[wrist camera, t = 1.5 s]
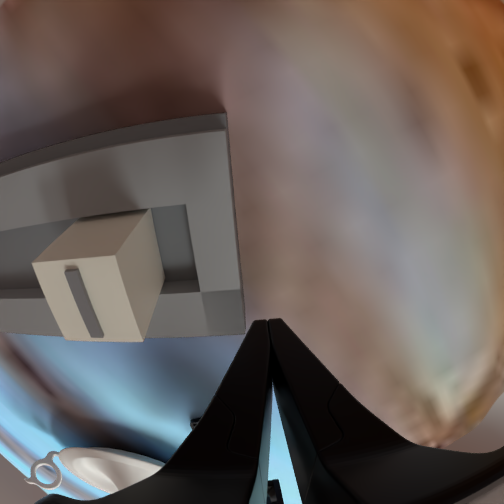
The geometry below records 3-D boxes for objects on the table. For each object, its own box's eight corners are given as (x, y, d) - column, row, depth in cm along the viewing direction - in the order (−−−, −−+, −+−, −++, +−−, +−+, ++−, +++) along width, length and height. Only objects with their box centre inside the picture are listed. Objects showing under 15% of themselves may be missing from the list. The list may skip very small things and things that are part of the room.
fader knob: (165, 278, 16) (142, 345, 12) (100, 281, 16) (64, 342, 12) (150, 207, 14) (113, 258, 10) (81, 216, 14) (29, 265, 10)
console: (245, 309, 20) (246, 344, 17) (-26, 312, 20) (-43, 333, 17) (226, 112, 14) (223, 114, 12) (-70, 193, 14) (-94, 208, 11)
